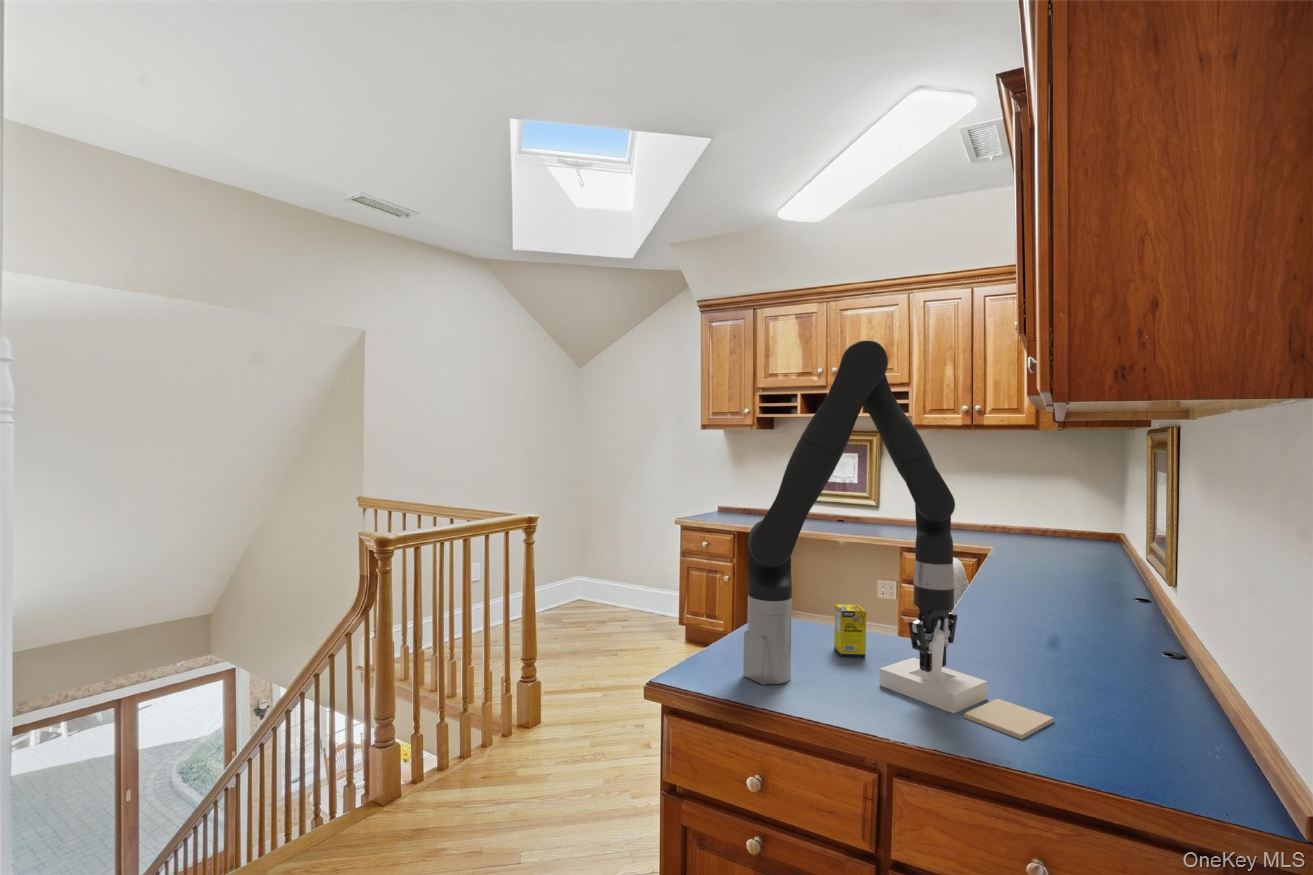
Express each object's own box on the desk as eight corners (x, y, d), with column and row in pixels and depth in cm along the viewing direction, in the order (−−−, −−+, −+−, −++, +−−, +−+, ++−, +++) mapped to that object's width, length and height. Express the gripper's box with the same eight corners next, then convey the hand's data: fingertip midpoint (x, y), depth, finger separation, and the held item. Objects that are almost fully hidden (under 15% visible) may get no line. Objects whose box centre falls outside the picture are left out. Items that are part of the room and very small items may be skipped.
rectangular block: (953, 713, 117) (954, 694, 117) (879, 685, 130) (879, 668, 130) (986, 698, 124) (987, 681, 124) (913, 673, 137) (913, 657, 137)
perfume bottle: (917, 692, 126) (918, 618, 126) (922, 685, 130) (923, 613, 130) (942, 698, 124) (943, 622, 124) (946, 690, 127) (947, 617, 127)
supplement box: (866, 657, 146) (866, 611, 146) (840, 657, 146) (841, 610, 146) (858, 649, 152) (859, 604, 152) (833, 648, 152) (834, 603, 152)
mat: (1021, 739, 107) (1021, 734, 107) (964, 717, 115) (964, 713, 115) (1053, 721, 114) (1053, 717, 114) (997, 702, 122) (997, 698, 122)
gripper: (931, 592, 120) (930, 681, 120) (970, 582, 128) (970, 666, 128) (896, 584, 126) (895, 669, 126) (936, 576, 134) (935, 655, 134)
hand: (933, 667), depth 127 cm, fingers closed on perfume bottle, 4 cm apart
